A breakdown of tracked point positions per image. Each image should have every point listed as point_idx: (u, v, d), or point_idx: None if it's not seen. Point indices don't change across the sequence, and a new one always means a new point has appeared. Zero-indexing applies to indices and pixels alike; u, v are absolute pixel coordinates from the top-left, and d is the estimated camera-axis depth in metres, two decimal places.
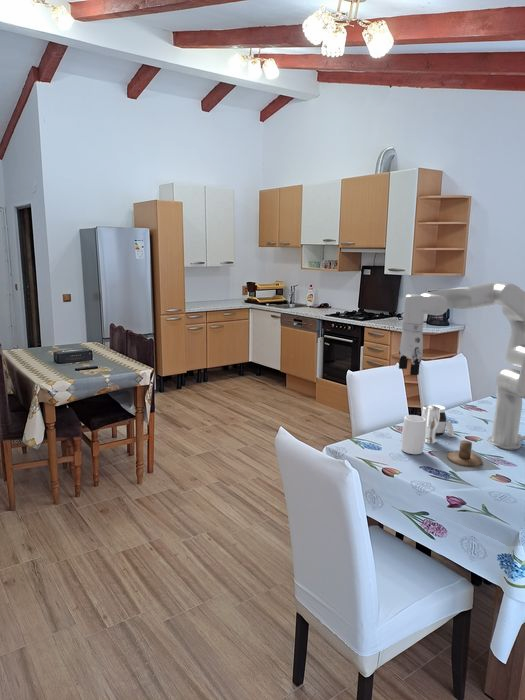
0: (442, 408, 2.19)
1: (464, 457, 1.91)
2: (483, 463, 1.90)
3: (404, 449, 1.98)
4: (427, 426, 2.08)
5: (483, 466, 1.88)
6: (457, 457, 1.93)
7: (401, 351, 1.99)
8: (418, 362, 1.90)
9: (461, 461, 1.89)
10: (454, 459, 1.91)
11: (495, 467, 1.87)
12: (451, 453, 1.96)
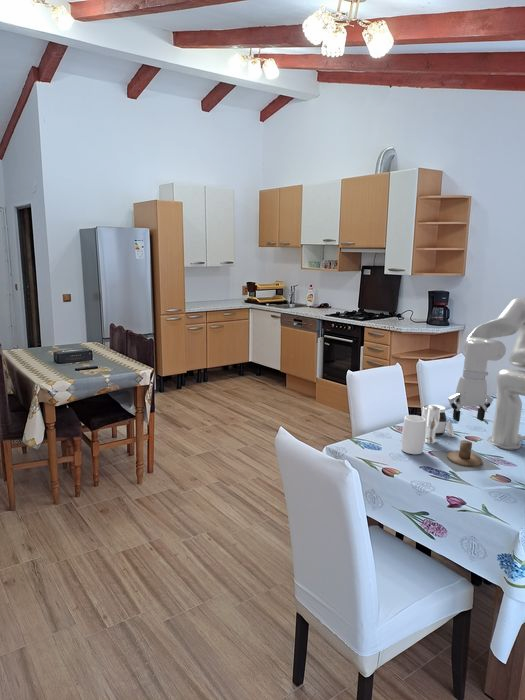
0: (442, 408, 2.19)
1: (464, 457, 1.91)
2: (483, 463, 1.90)
3: (404, 449, 1.98)
4: (427, 426, 2.08)
5: (483, 466, 1.88)
6: (457, 457, 1.93)
7: (466, 402, 1.86)
8: None
9: (461, 460, 1.89)
10: (454, 459, 1.91)
11: (495, 467, 1.87)
12: (451, 453, 1.96)
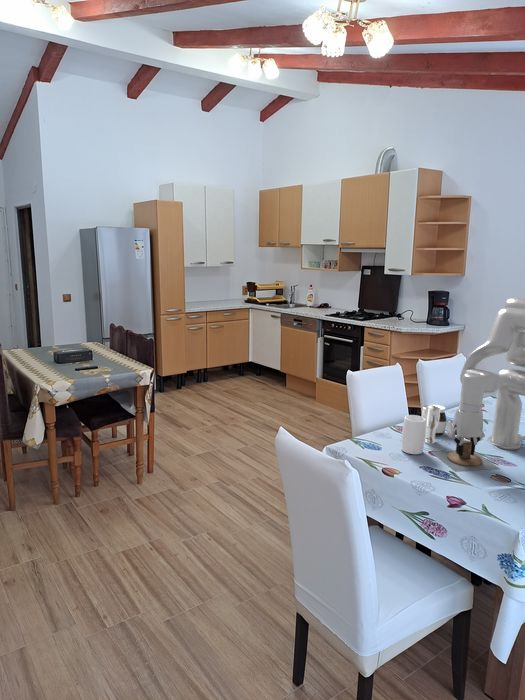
0: (442, 408, 2.19)
1: (464, 457, 1.91)
2: (483, 463, 1.90)
3: (404, 449, 1.98)
4: (427, 426, 2.08)
5: (483, 466, 1.88)
6: (457, 457, 1.93)
7: (463, 434, 1.88)
8: None
9: (461, 461, 1.89)
10: (454, 459, 1.91)
11: (495, 467, 1.87)
12: (451, 453, 1.96)
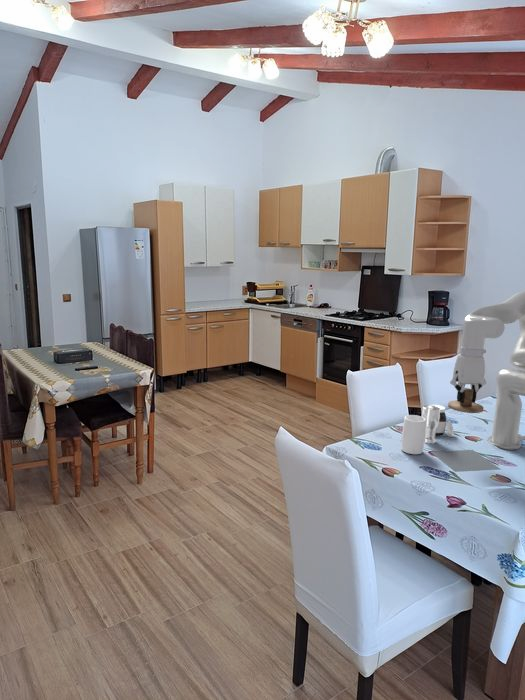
0: (442, 408, 2.19)
1: (466, 405, 1.87)
2: (483, 463, 1.90)
3: (404, 449, 1.98)
4: (427, 426, 2.08)
5: (483, 466, 1.88)
6: (458, 405, 1.89)
7: (464, 380, 1.85)
8: None
9: (463, 407, 1.86)
10: (455, 406, 1.87)
11: (495, 467, 1.87)
12: (452, 402, 1.93)
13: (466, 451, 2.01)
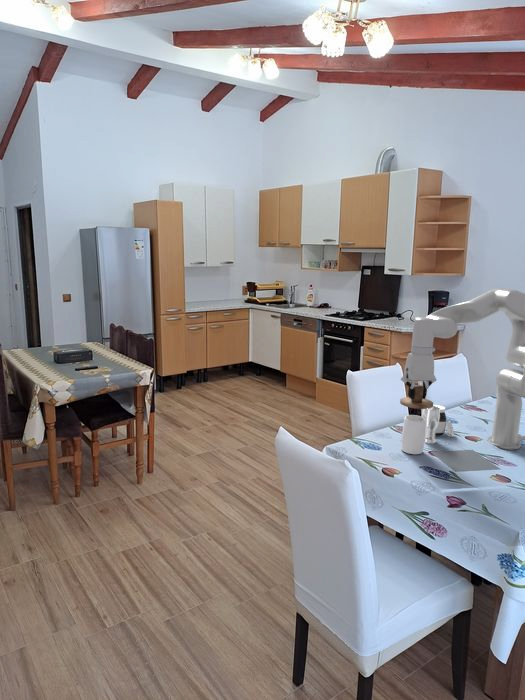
0: (442, 408, 2.19)
1: (416, 401, 1.94)
2: (483, 463, 1.90)
3: (404, 449, 1.98)
4: (427, 426, 2.08)
5: (483, 466, 1.88)
6: (409, 401, 1.95)
7: (414, 377, 1.91)
8: None
9: (413, 403, 1.92)
10: (406, 402, 1.93)
11: (495, 467, 1.87)
12: (404, 398, 1.99)
13: (466, 451, 2.01)
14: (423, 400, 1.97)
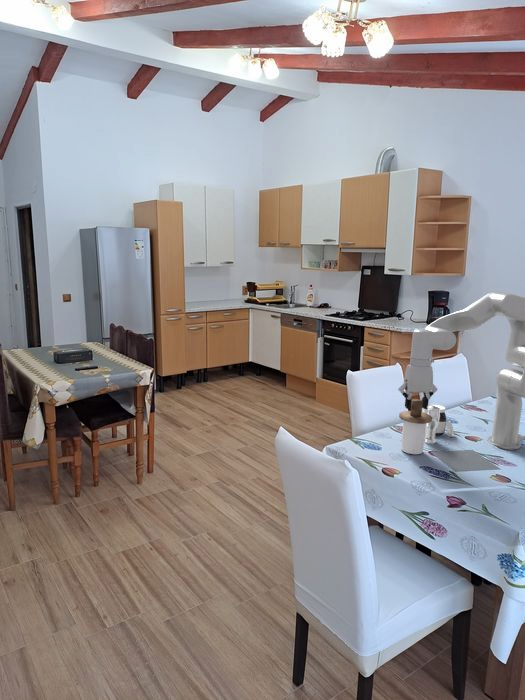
0: (442, 408, 2.19)
1: (415, 415, 1.95)
2: (483, 463, 1.90)
3: (404, 449, 1.98)
4: (427, 426, 2.08)
5: (483, 466, 1.88)
6: (408, 415, 1.97)
7: (413, 389, 1.92)
8: None
9: (412, 418, 1.93)
10: (405, 417, 1.95)
11: (495, 467, 1.87)
12: (403, 412, 2.00)
13: (466, 451, 2.01)
14: (422, 414, 1.98)
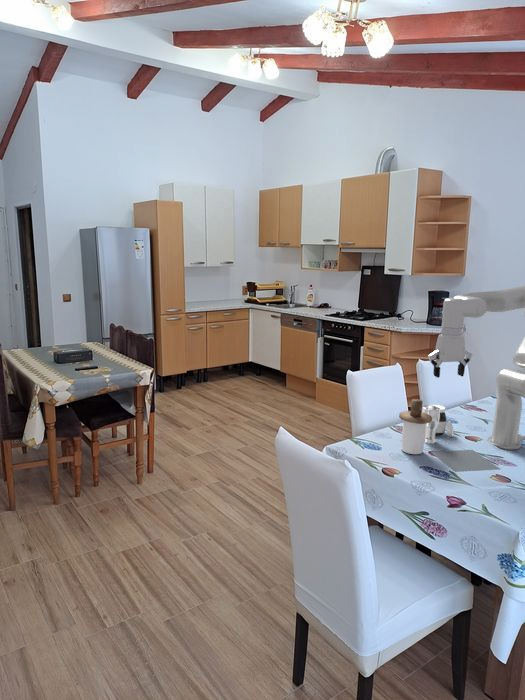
0: (442, 408, 2.19)
1: (415, 415, 1.95)
2: (483, 463, 1.90)
3: (404, 449, 1.98)
4: (427, 426, 2.08)
5: (483, 466, 1.88)
6: (408, 415, 1.97)
7: (445, 358, 1.91)
8: None
9: (412, 418, 1.93)
10: (405, 417, 1.95)
11: (495, 467, 1.87)
12: (403, 412, 2.00)
13: (466, 451, 2.01)
14: (422, 414, 1.98)
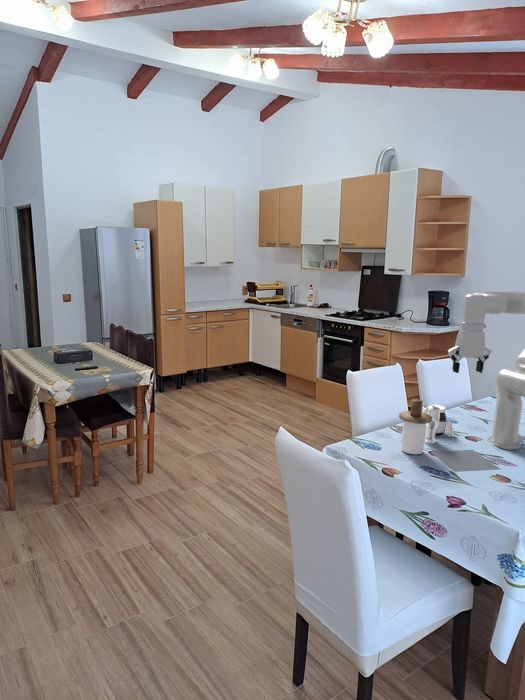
0: (442, 408, 2.19)
1: (415, 415, 1.95)
2: (483, 463, 1.90)
3: (404, 449, 1.98)
4: (427, 426, 2.08)
5: (483, 466, 1.88)
6: (408, 415, 1.97)
7: (465, 354, 1.92)
8: None
9: (412, 418, 1.93)
10: (405, 417, 1.95)
11: (495, 467, 1.87)
12: (403, 412, 2.00)
13: (466, 451, 2.01)
14: (422, 414, 1.98)
